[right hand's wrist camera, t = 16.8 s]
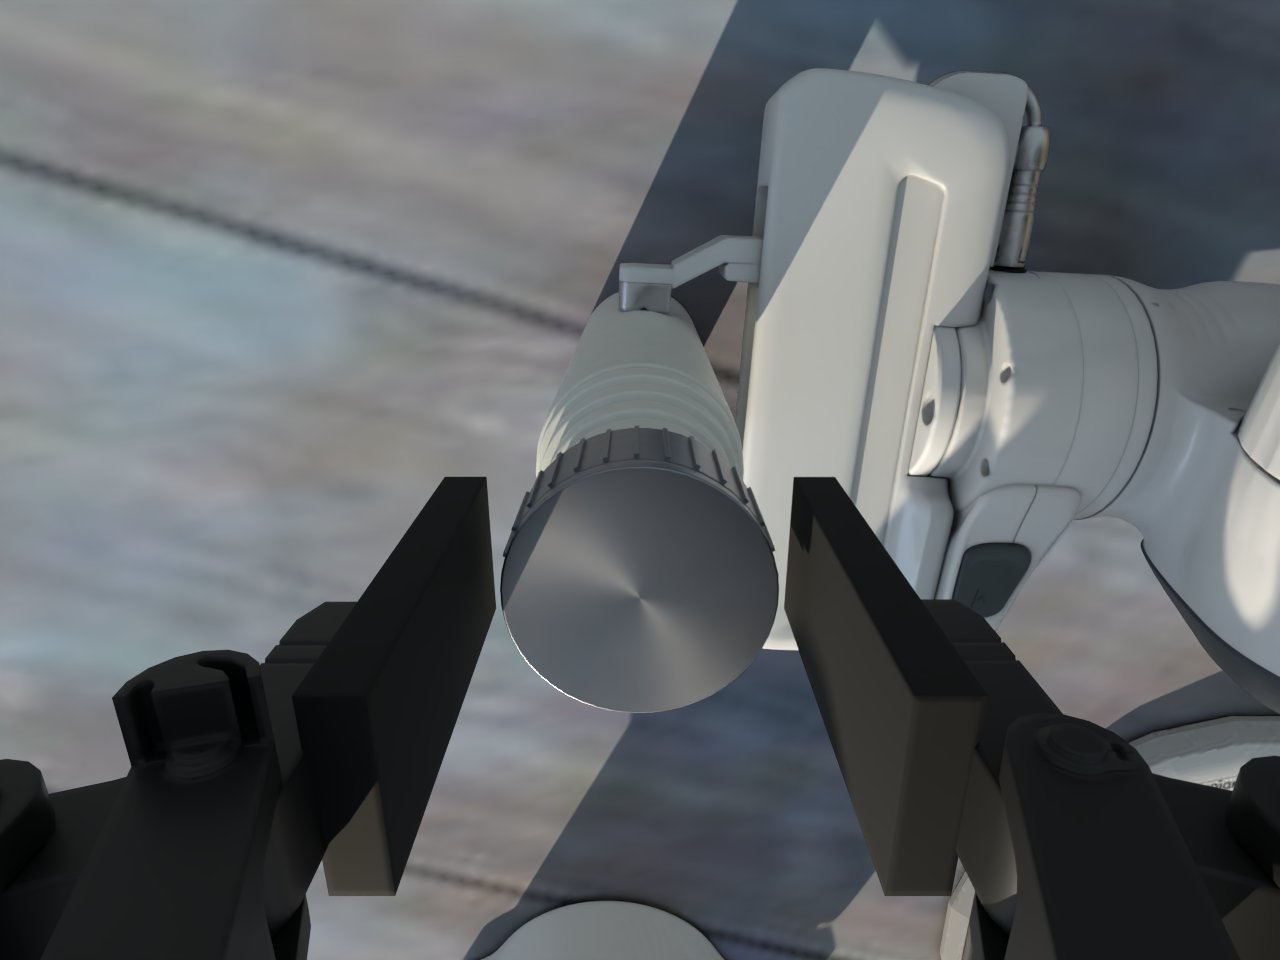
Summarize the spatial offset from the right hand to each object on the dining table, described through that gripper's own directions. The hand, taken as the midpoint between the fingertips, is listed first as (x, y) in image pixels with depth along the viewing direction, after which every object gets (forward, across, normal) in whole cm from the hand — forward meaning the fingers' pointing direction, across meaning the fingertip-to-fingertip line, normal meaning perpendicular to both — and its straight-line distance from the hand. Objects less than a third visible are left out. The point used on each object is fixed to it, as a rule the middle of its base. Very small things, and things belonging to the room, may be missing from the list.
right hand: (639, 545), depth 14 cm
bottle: (+20, 0, 0) cm, 20 cm away
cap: (-2, 0, 0) cm, 2 cm away
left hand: (+14, -1, 0) cm, 14 cm away
